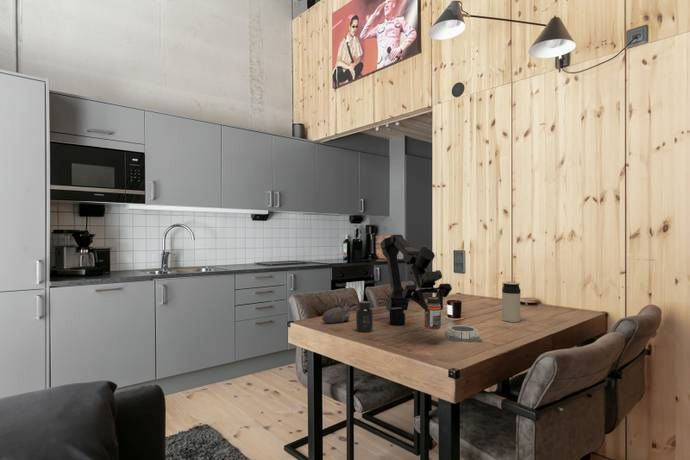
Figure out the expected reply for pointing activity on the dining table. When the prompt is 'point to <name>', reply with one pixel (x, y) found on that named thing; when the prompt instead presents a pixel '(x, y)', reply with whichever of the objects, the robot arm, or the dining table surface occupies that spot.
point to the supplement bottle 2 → (433, 313)
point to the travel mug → (511, 301)
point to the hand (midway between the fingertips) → (434, 309)
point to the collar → (463, 333)
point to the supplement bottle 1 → (364, 317)
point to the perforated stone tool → (336, 315)
